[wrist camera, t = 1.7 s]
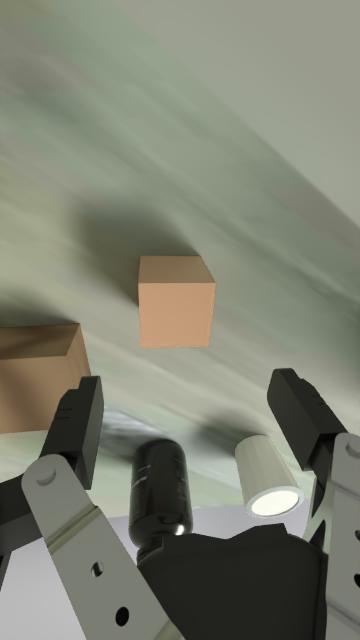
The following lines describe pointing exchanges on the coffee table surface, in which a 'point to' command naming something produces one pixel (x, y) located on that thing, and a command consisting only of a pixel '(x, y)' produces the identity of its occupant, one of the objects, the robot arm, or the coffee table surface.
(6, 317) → the coffee table surface
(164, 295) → the tan block
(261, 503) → the white cylinder
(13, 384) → the walnut box
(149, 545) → the supplement bottle
